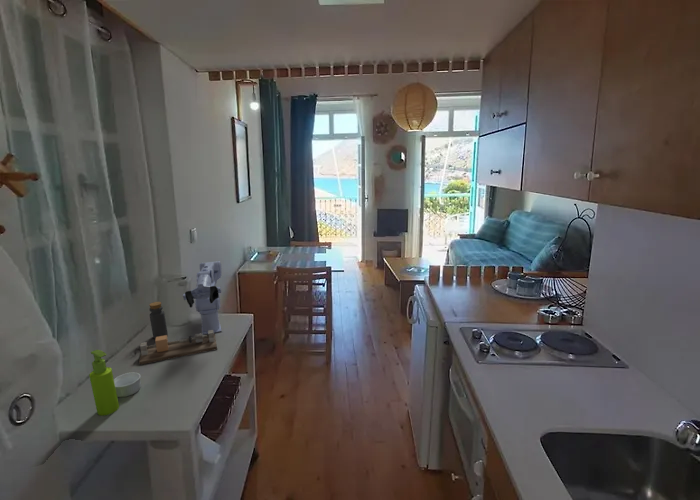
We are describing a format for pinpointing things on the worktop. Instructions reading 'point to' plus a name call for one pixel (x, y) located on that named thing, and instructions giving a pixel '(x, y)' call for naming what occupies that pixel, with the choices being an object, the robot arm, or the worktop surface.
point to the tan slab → (179, 348)
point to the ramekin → (127, 384)
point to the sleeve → (162, 343)
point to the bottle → (157, 320)
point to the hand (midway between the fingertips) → (200, 303)
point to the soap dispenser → (103, 385)
